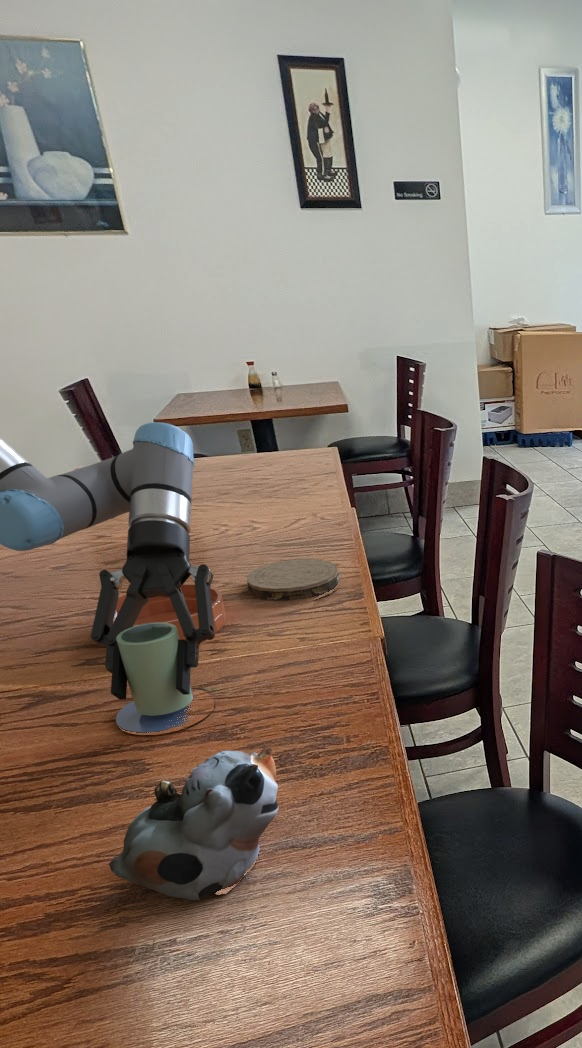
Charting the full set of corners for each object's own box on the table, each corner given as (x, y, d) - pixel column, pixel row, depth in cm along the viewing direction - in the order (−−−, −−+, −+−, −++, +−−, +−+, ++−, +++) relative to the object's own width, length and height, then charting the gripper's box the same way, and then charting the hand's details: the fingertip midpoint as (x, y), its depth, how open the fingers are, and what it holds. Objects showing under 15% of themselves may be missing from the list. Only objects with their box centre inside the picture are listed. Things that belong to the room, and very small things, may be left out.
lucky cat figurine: (161, 822, 86) (204, 703, 84) (269, 864, 87) (315, 747, 85) (81, 883, 72) (132, 740, 70) (212, 932, 73) (266, 793, 71)
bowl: (79, 655, 124) (70, 625, 122) (141, 610, 141) (134, 583, 139) (196, 657, 123) (189, 626, 121) (245, 611, 140) (239, 583, 138)
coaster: (97, 735, 103) (96, 731, 103) (146, 690, 114) (145, 687, 114) (190, 737, 102) (189, 733, 102) (230, 692, 113) (229, 688, 113)
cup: (124, 715, 104) (104, 644, 100) (152, 689, 111) (134, 621, 106) (178, 716, 104) (159, 644, 100) (202, 690, 110) (186, 621, 106)
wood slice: (243, 608, 141) (240, 592, 140) (255, 577, 155) (252, 562, 154) (338, 600, 144) (336, 584, 142) (341, 570, 158) (339, 556, 156)
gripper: (244, 540, 115) (241, 696, 108) (94, 548, 113) (80, 708, 105) (228, 513, 108) (224, 678, 101) (67, 521, 106) (51, 691, 98)
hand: (150, 693), depth 103 cm, fingers closed on cup, 7 cm apart
